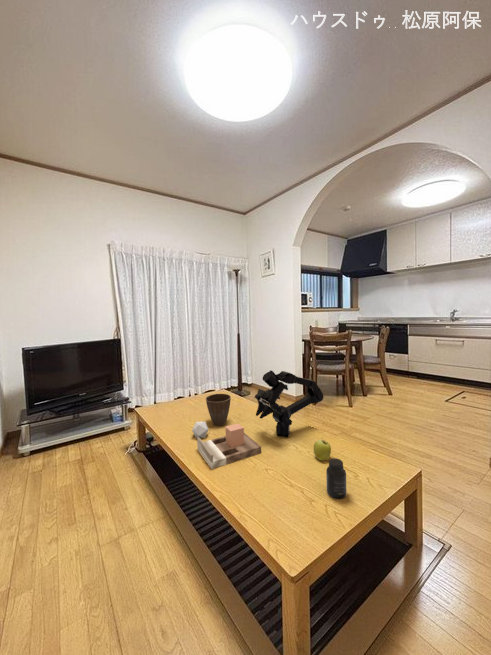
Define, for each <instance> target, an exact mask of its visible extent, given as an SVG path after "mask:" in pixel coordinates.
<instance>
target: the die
mask: <svg viewBox="0 0 491 655" xmlns="http://www.w3.org/2000/svg"><path fill="white" fill-rule="evenodd" d="M191 431H192V433H193V436H194V438H195V439H197V438H198V437H199V438H200V439H204V438H206V436H207V434H208V431H209V427H208V425H207V422H206V421H195V423H194V425H193V426H192V430H191Z"/></svg>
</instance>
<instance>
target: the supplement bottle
mask: <svg viewBox="0 0 491 655" xmlns="http://www.w3.org/2000/svg"><path fill="white" fill-rule="evenodd" d="M325 476H326V479H325V480H326V493H327V494H328V496H329V497H330V498H332V499H334V500H343V499H345V498H346V497H347V472H346V469H345V468H344V462H343V460H341V458H340V459H339V458H335V457H333V458H330V459H328V466H327V468H326V475H325Z"/></svg>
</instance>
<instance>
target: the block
mask: <svg viewBox="0 0 491 655" xmlns="http://www.w3.org/2000/svg"><path fill="white" fill-rule="evenodd" d="M244 433H245V428H244V426H242V425H241V424H240V423H235V424H234V423H233V424H231V425H226V426H225V436H226V443H227V444H228V445H229V446H230V447H231V448H232V447H236V446H239V445H242V444H244Z"/></svg>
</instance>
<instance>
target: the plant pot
mask: <svg viewBox="0 0 491 655" xmlns="http://www.w3.org/2000/svg"><path fill="white" fill-rule="evenodd" d="M231 400H232V396H231V395H230V394H226V393H215V394H210V395H208V396H206V398H205V402H206V407H207V412H208V414H209V417H210V419H211V422H212V424H213V425H214V426H216V427H221V426H224V425H226V423H227V419H228V417H229V416H228V415H229V412H230V407H231Z"/></svg>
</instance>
